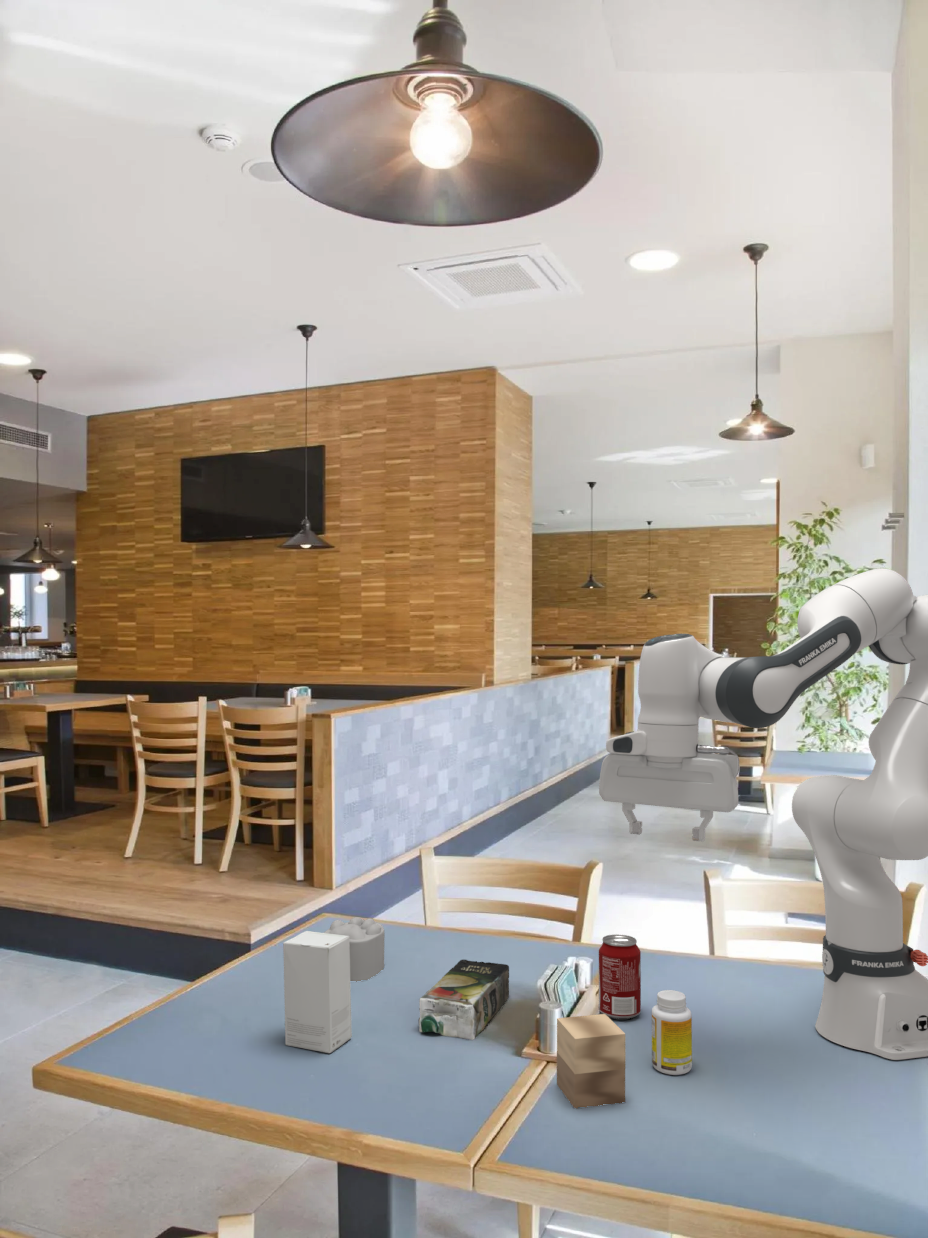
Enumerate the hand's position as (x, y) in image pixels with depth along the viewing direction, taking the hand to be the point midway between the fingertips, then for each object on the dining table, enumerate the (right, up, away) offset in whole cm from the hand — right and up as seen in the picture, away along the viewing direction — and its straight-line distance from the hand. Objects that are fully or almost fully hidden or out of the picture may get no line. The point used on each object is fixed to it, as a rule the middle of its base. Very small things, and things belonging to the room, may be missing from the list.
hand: (666, 837), depth 139 cm
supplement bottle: (0, -32, -6) cm, 32 cm away
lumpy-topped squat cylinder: (-50, -33, +36) cm, 70 cm away
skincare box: (-52, -32, +3) cm, 61 cm away
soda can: (-5, -32, +14) cm, 36 cm away
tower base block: (-13, -31, -13) cm, 36 cm away
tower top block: (-13, -27, -13) cm, 33 cm away
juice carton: (-30, -33, +14) cm, 46 cm away
